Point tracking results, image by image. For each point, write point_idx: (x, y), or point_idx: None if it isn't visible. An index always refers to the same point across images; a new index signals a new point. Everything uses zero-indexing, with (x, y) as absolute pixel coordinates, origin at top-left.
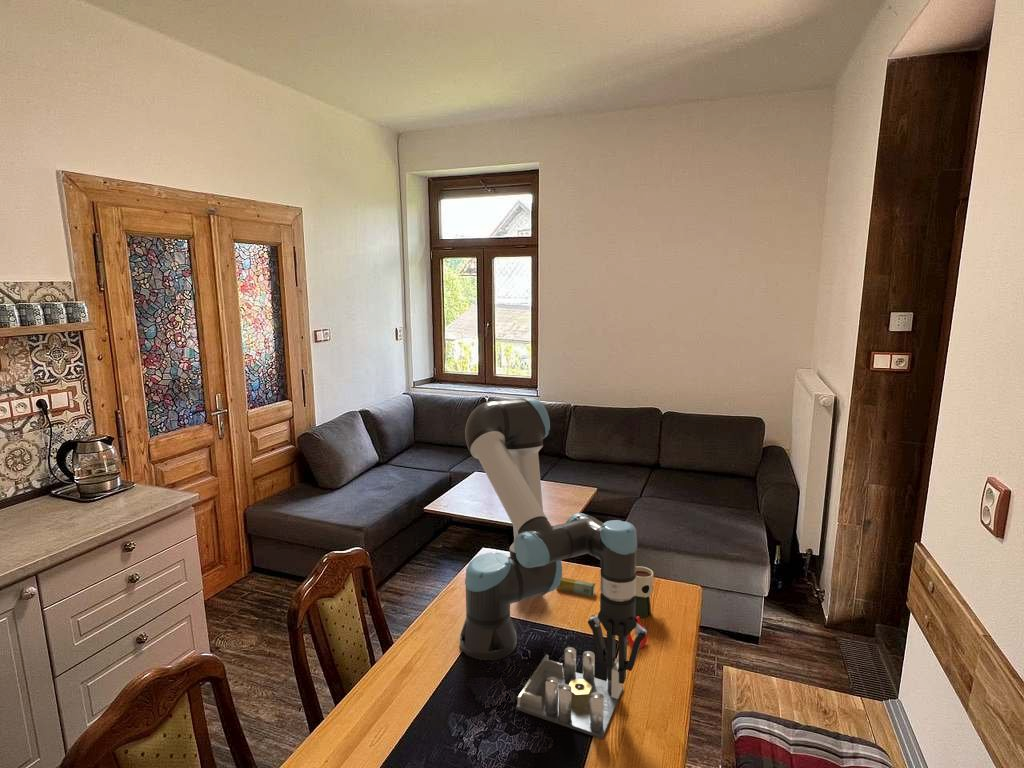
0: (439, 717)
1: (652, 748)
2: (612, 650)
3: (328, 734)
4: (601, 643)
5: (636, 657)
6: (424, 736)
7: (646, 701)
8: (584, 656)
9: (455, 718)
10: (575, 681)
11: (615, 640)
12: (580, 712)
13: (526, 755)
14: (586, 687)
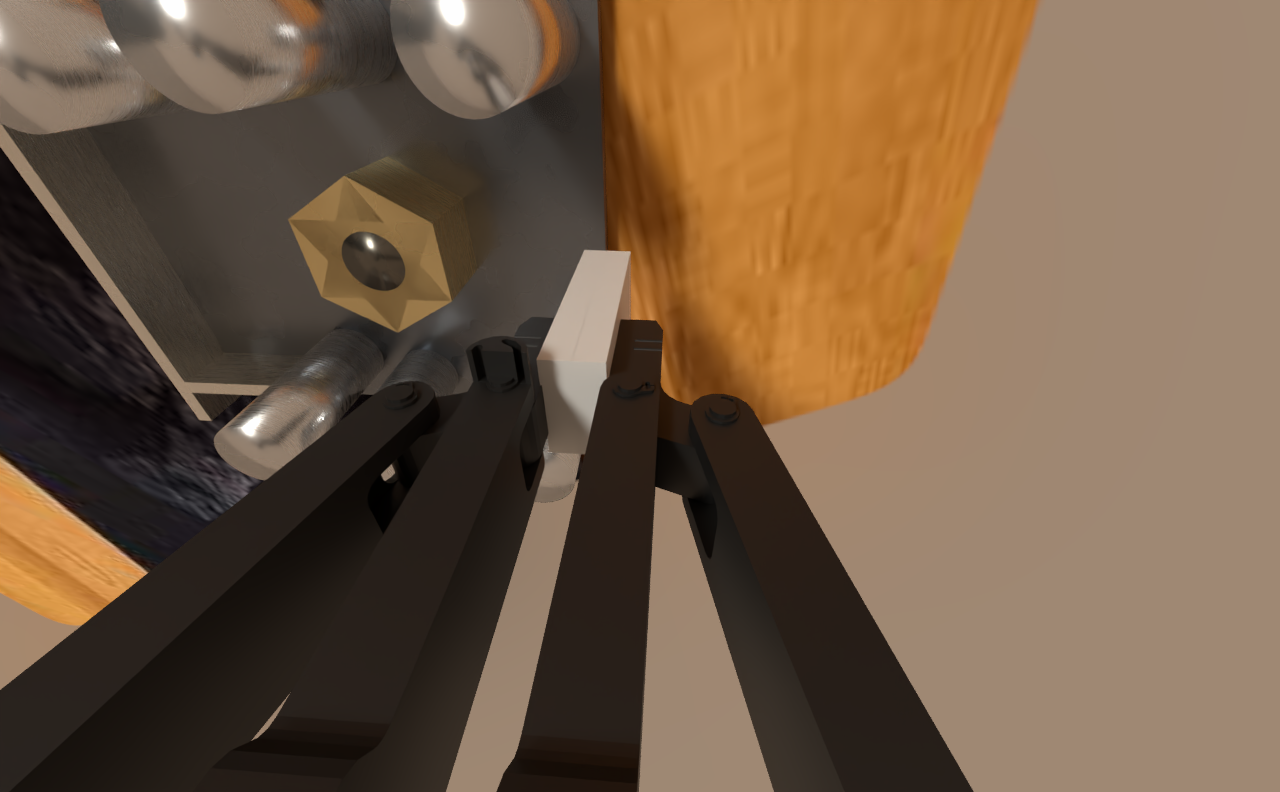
0: (105, 486)
1: (812, 367)
2: (495, 622)
3: (11, 587)
4: (309, 627)
5: (785, 472)
6: (161, 540)
7: (779, 27)
8: (174, 99)
9: (141, 475)
10: (319, 226)
11: (440, 610)
12: (469, 322)
13: None
14: (410, 252)
